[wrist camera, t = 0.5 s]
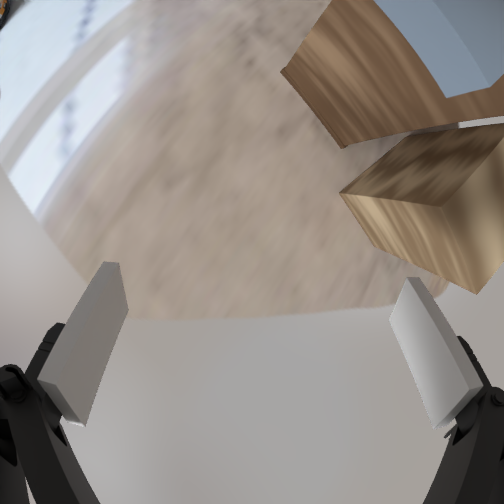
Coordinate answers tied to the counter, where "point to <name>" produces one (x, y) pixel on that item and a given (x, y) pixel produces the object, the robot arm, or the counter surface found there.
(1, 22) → the supplement container
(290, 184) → the counter surface
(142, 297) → the counter surface
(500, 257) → the oak block
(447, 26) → the lid
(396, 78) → the walnut box
